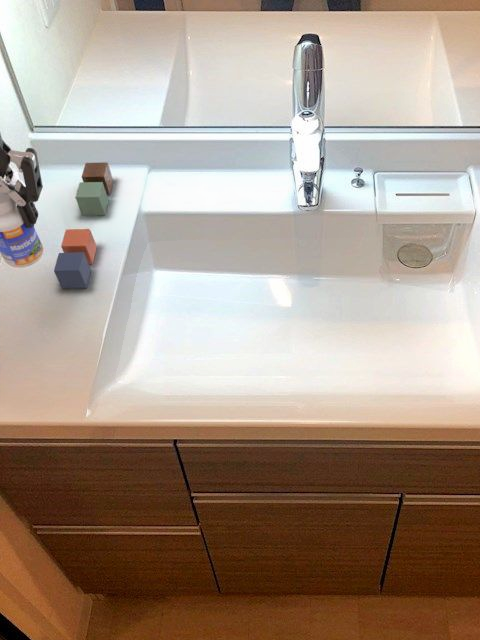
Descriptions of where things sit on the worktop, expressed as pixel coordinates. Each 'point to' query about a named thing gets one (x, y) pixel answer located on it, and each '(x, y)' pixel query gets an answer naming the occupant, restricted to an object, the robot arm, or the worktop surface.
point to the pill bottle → (17, 236)
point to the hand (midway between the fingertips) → (8, 223)
